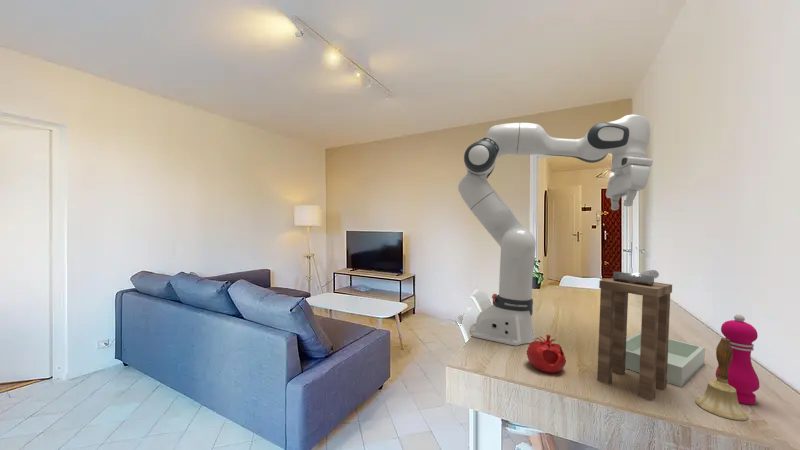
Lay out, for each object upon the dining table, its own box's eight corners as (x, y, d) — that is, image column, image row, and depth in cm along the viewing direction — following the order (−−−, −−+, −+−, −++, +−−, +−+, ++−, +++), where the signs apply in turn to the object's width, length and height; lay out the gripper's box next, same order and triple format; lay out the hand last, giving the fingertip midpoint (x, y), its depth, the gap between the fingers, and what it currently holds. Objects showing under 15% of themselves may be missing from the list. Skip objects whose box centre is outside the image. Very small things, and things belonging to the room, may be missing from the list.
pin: (636, 276, 92) (636, 268, 92) (671, 280, 86) (671, 272, 86) (612, 280, 82) (613, 271, 82) (650, 286, 76) (651, 276, 76)
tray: (640, 346, 108) (640, 331, 108) (704, 363, 95) (704, 347, 95) (610, 363, 93) (610, 346, 93) (681, 387, 80) (682, 367, 80)
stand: (614, 368, 89) (617, 277, 89) (668, 387, 80) (672, 284, 80) (595, 379, 82) (599, 280, 82) (652, 401, 73) (657, 289, 72)
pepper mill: (738, 390, 79) (741, 311, 79) (768, 407, 72) (772, 320, 72) (706, 388, 80) (709, 309, 80) (733, 404, 73) (737, 318, 72)
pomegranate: (518, 363, 91) (520, 331, 91) (543, 358, 95) (545, 327, 95) (547, 379, 82) (549, 343, 82) (574, 373, 86) (575, 339, 86)
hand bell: (740, 407, 72) (743, 337, 72) (754, 426, 65) (758, 348, 65) (691, 395, 76) (694, 329, 76) (699, 411, 69) (702, 339, 69)
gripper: (604, 172, 113) (598, 210, 112) (631, 155, 93) (624, 201, 92) (624, 174, 111) (617, 213, 111) (656, 158, 91) (648, 205, 91)
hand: (620, 208), depth 101 cm, fingers open, 8 cm apart
